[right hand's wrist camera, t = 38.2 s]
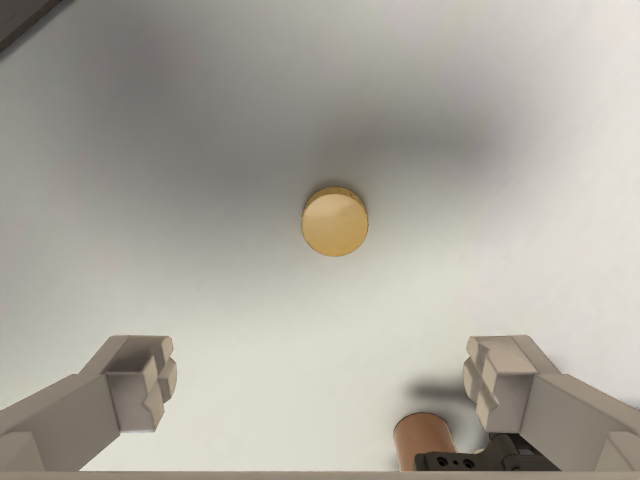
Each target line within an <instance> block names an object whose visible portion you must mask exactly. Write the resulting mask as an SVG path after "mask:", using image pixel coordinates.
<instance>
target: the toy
mask: <svg viewBox="0 0 640 480" xmlns="http://www.w3.org/2000/svg"><path fill="white" fill-rule="evenodd" d="M60 1H62V0H0V52H1V51H3V50H4V49H5V48H6V47H7V46H9V45H10V44H11V43H12V42H13V41H14V40H16V39H17V38H18V37H19V36H20V35H22V34H23V33H24V32H25V31H26V30H27V29H29V28H30V27H31V26H32V25H33V24H34V23H36V22H37V21H38V20H39V19H40V18H42V17H43V16H44V15H45V14H46V13H47V12H49V11H50V10H51V9H52V8H53V7H54V6H56V5H57V4H58V3H59V2H60Z"/></svg>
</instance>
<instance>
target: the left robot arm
mask: <svg viewBox="0 0 640 480" xmlns="http://www.w3.org/2000/svg"><path fill="white" fill-rule="evenodd" d="M489 438H490V440H491V442H490V443H489V445H488V446H487V447H486V448H481V449H478V450H476V451H475V452H474V453H473V454H464V453H451V452H450V453H449V452H444V453H443V452H439V451H432V452H427V453H418V454H416V455H415V457H414V461H413V471H561V470H560V469H559V468H558V467H557V466H556V465H554V464H553V463H552V462H551V461H550V460H549V459H547V458H546V457H545V456H544V455H543V454H542V453H540V452H539V451H538V450H537V449H536V448H535V447H533V446H532V445H531V444H530V443H529V442H528V441H526V440H525V439H524V438H523V437H522V436H521V435H520V433H497V432H490V433H489ZM518 449H529V450H531V451H532V452H533V453H534V454H535V456H534V455H520V453H519V451H518Z"/></svg>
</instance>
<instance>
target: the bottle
mask: <svg viewBox="0 0 640 480" xmlns="http://www.w3.org/2000/svg"><path fill="white" fill-rule="evenodd" d="M394 442H395V448H396V453H397V459H398V464H399V470H400V471H413V461H414V457H415V455H416V454H418V453H427V452H432V451H439V452H443V453H444V452H449V453H450V452H451V453H458V452H457V449H456V446H455V444H454V441H453V438H452V435H451V432H450V429H449V427H448V425H447V423H446V422H445V421H444V420H443V419H441V418H440V417H438V416H436V415H433V414H429V413H418V414H413V415H410V416H408V417H406V418H404V419H403V420H402V421H400V422H399V424H398V425H397V426H396V428H395V431H394Z"/></svg>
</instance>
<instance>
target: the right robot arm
mask: <svg viewBox="0 0 640 480" xmlns="http://www.w3.org/2000/svg"><path fill="white" fill-rule="evenodd" d="M173 349H174V348H173V343H172V339H171V338H170V337H169V336H144V335H133V336H131V335H114V336H111V337H110V338H109V339H108V340H107V341H106V342H105V343H104V344H103V346H102V347H101V348H100V349H99V350H98V352H97V353H96V354H95V355H94V356H93V357H92V359H91V360H90V361H89V362H88V363H87V364H86V366H85V367H84V368H83V369H82V370H81V371H80V373H79V374H72V375H70V376H68V377H66V378H64V379H62V380H60V381H58V382H56V383H54V384H52V385H50V386H48V387H46V388H44V389H42V390H40V391H39V392H37V393H35V394H33V395H31V396H29V397H27V398H25V399H23V400H21V401H19V402H17V403H15V404H13V405H11V406H9V407H7V408H6V409H4V410H2V411H0V480H640V411H638V410H636V409H634V408H632V407H630V406H628V405H627V404H625V403H623V402H621V401H619V400H617V399H615V398H613V397H611V396H609V395H607V394H605V393H603V392H601V391H599V390H597V389H596V388H594V387H592V386H590V385H588V384H586V383H584V382H582V381H580V380H578V379H576V378H574V377H572V376H570V375H568V374H561V373H560V371H559V370H558V369H557V368H556V367H555V366H554V364H553V363H552V362H551V361H550V360H549V359H548V357H547V356H546V355H545V354H544V353H543V352H542V350H541V349H540V348H539V347H538V346H537V345H536V343H535V342H534V341H533V340H532V339H531V338H530V337H529V336H527V335H508V336H470V338H469V340H468V343H467V348H466V350H467V351H468V353H469V355H470V357H469V358H468V359H467V360H466V361H465V362H464V368H463V381H464V386H465V390H466V393H467V395H468V397H469V399H471V400H472V401H473V402H475V403H476V404H477V406H476V411H475V412H476V414H477V416H478V418H479V420H480V422H481V424H482V426H483V428H484V430H485V432H497V433H520V435H521V436H522V437H523V438H524V439H525V440H526V441H528V442H529V443H530V444H531V445H532V446H533V447H535V448H536V449H537V450H538V451H539V452H540V453H542V454H543V455H544V456H545V457H546V458H547V459H549V460H550V461H551V462H552V463H553V464H554V465H556V466H557V467H558V468H559V469H560V470H561V471H79V470H80V469H81V468H82V467H83V466H84V465H86V464H87V463H88V462H89V461H90V460H92V459H93V458H94V457H95V456H96V455H97V454H99V453H100V452H101V451H102V450H103V449H104V448H106V447H107V446H108V445H109V444H110V443H111V442H113V441H114V440H115V439H116V438H117V437H118V436H120V433H142V432H155V430H156V428H157V426H158V424H159V422H160V420H161V418H162V416H163V414H164V412H165V411H164V406H163V404H164V403H165V402H167V401H168V400H169V399H171V397H172V395H173V392H174V390H175V386H176V381H177V367H176V362H175V361H174V360H173V359H172V358H171V357H170V355H171V353H172V351H173Z"/></svg>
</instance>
